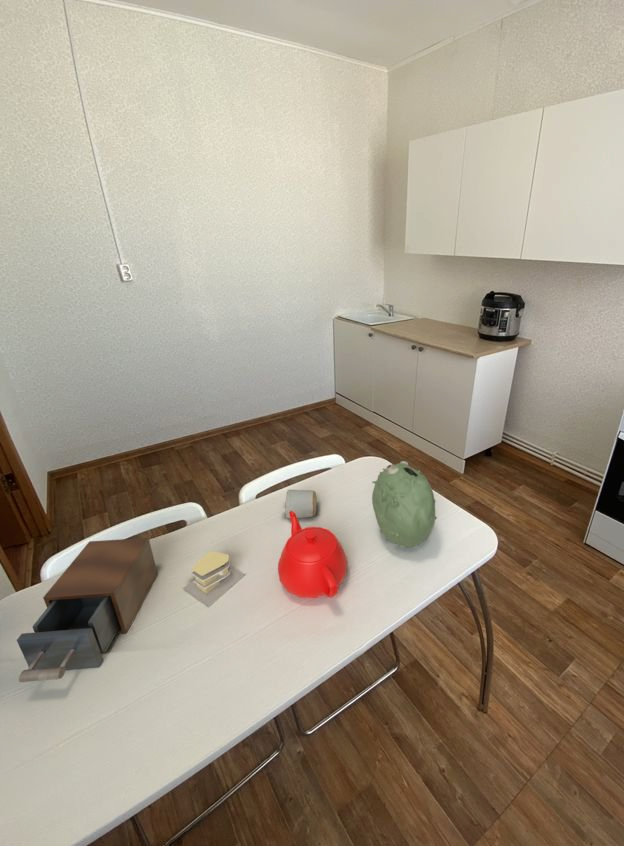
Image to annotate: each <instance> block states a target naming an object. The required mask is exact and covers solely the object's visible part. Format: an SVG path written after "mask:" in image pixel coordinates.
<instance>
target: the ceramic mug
mask: <svg viewBox="0 0 624 846" xmlns="http://www.w3.org/2000/svg"><path fill="white" fill-rule="evenodd" d="M290 511H293V512H294V513H295V514H296V516H297V519H298V518H299V519H300V518H301V519H303V518H312V517H315V516H316V514H317V492H316V491H315V490H311V489H287V491H286V495H285V517H286V519H290V514H289V512H290Z"/></svg>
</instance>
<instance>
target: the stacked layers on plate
mask: <svg viewBox="0 0 624 846" xmlns="http://www.w3.org/2000/svg"><path fill="white" fill-rule="evenodd" d="M190 570H192V572H191V575H192V576H194V578H193V580H191V581H190V582H189V583H187V584H186V585H185V586H183V587H182V589H183V590H184V591H185V592H186V593H188V594H189V595H191V596H192V597H193V598H195V599H196V600H198V601H199V602H201V603H202V604H203V605H205V606H206V607H208V608H209V607H210V606H211V605H213V604H214V603H215V602H216V601H217V600H219V598H221V597H222V596H223V595H224V594H225V593H226V592H227V591H228V590H230V589H231V588H232V587H233V586H234V585H235V584H237V583H238V582H239V581H240V580H241V579H243V577H245V575H246V574H245V573H243V571H240V570H238V569H237V568H235V567H234V566H232V565H230V558H229V554H226V553H222V552H218V551H210V552H207V553H206V554H205V555H203V556H202V557H201V558H200V559H199V560H198V561H197V562H196V563H195V564H194V565H193V566H192V567H191V568H190Z"/></svg>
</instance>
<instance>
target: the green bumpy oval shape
mask: <svg viewBox="0 0 624 846" xmlns="http://www.w3.org/2000/svg"><path fill="white" fill-rule="evenodd" d="M371 483H372V484H374V487H373V490H372V496H371V500H372V501H371V502H372V508H373V511H374V516H375V519H376V523H377V525H378V528H379V531H380V533H381V534H382V535H383V536H384V538H385V539H386V540H388V541H389V542H390V543H391V544H394V545H397V546H401V547H405V548H410V547H415V546H418V545H419V544H421V543H423V542H424V541H426V540H427V539H428V538H429V537H430V535H431V534H432V531H433V528H434V527H435V524H436V520H437V516H436V501H437V500H436V499H435V495H434V492H433V489H432V486H431V484H430V482H429V481H428V477H426V475H424V474H422V473H421V470H420V469H419V470H417V469H415V468H413V467H412V466H410V465H409V463H408V461H406V460H401V461H400V462H398V463H396V464H394V463H392V464H389V465H388V466H386V467H385V468H382V471H380V472H379V474H378V475H377V478H376V480H372V481H371Z"/></svg>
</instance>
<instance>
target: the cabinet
mask: <svg viewBox="0 0 624 846" xmlns="http://www.w3.org/2000/svg"><path fill="white" fill-rule="evenodd" d="M158 575H159V573H158V569H157V566H156V562H155V558H154V553H153V550H152V546H151V541H150V538H149V537H139V538H120V539H108V540H107V539H105V540H93V541H92V540H91V541H88V542H87V544H86V545H85V546H84V547H83V548H82V549H81V551H80V552H79V553H78V555H77V556H76V557H75V558H74V559H73V561H71V563H70V564H69V566H68V567H67V568H66V569H65V571H64V572H62V574H61V575H60V577H59V578H58V579H57V580H56V581H55V582H54V584H52V586H51V587H50V588H49V589H48V591H47V592H46V593H45V595H44V596H43V597H42V598H43V601H44V604H45V607H46V608H47V607H48V606H49V605H50V604H51V602H52V601H53V600H60V599H74V598H88V597H101V596H111V598H112V602H113V605H114V608H115V611H116V614H117V617H118V621H119V624H120V627H119V629H118V631H117V633H116V634H115V635H123V634H128V632H129V631H130V628H131V626H132V624H133V622H134V621H135V619H136V617H137V615H138V613H139V611H140V609H141V607H142V606H143V604H144V602H145V600H146V598H147V596H148V594H149V593H150V590H151V589H152V586H153V584H154V582H155V581H156V580H157V577H158Z"/></svg>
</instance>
